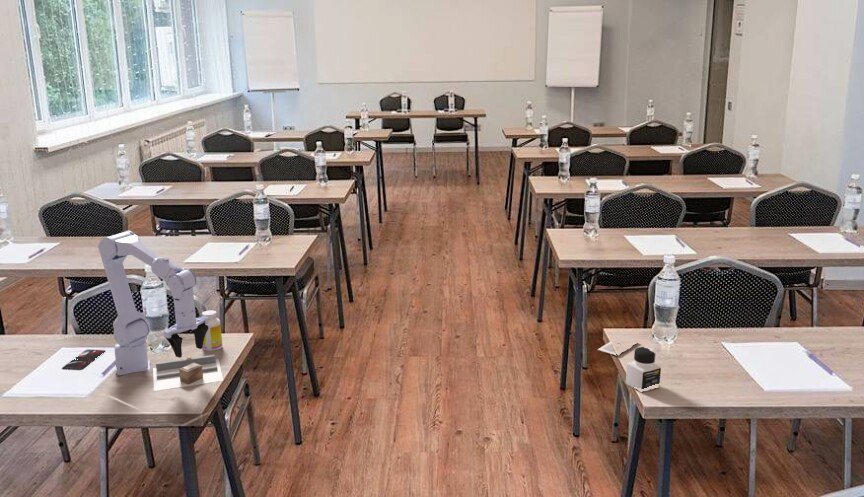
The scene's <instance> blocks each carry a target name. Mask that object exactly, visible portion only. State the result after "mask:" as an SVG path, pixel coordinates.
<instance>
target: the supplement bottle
mask: <svg viewBox="0 0 864 497" xmlns="http://www.w3.org/2000/svg"><path fill="white" fill-rule="evenodd" d="M217 313H218V312H217V311H216V310H210V309H209V310H205V311H202V313H201V317H203V316H205V317H208V324H205V325H208V331H207V333H206V335H205V338H204V342H203V348H202V350H204V351H217V350H221V349H222V348H223V336H222V325H221V324H222V323H221V320H220V318H218V317H217Z"/></svg>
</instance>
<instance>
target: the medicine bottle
mask: <svg viewBox="0 0 864 497" xmlns="http://www.w3.org/2000/svg"><path fill="white" fill-rule="evenodd" d="M633 355H634V356H633V361H628V362H627V363H626V374H625V376H626V377H625V384H626V386H628V387H630V388H632V389H634V388H633V386H634V387H637V388H641V389H644V388H647V387H649V386H652V385H655V384H659V383H661V371H662V366H661V365H659V364H656V351H655V349H653V348H651V347H647V346H640V347H637V348H635V350H634V354H633Z"/></svg>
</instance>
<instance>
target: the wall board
mask: <svg viewBox="0 0 864 497" xmlns="http://www.w3.org/2000/svg"><path fill="white" fill-rule="evenodd" d="M192 363H197V364H199V365H202V371H203V378H202V379H200V380H198V381H195V382H193V383H191V384H189V385H188V384H186V383H183V382H180V373H179V369H180V368H182V367H184V366H187V365H189V364H192ZM152 371H153V372H152V375H153V378H152V379H153V392H158V391H159V392H160V391H164V390H172V389H177V388H178V389H179V388H185V387H191V386H197V385H203V384H204V385H205V384H210V383H217V382H218V383H219V382H224V378H223V374H222V369H221V364H220V358H216V354H210V355H203V356H195V357H192V356H190V355H188V356H187V357H186V358H179V359H174V360H173V359H172V360H167V361H161V362H155V367H153V368H152Z"/></svg>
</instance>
